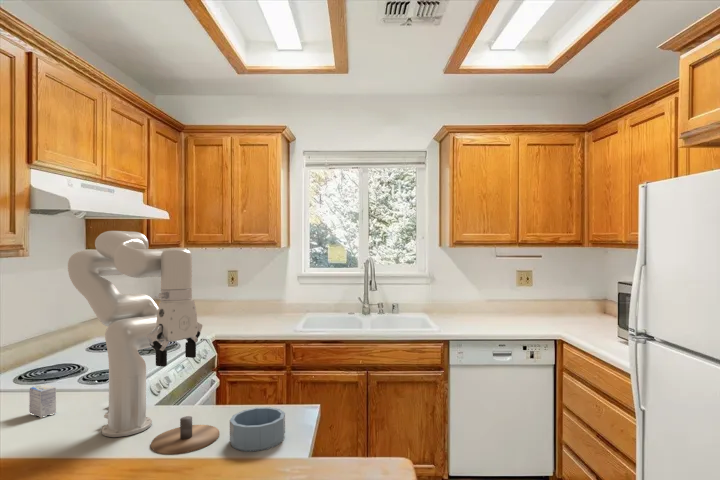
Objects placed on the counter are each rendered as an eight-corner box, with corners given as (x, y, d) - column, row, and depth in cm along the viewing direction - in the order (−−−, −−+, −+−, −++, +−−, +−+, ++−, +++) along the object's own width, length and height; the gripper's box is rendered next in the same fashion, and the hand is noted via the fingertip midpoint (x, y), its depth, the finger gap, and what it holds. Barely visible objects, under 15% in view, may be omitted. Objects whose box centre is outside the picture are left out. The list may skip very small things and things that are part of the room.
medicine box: (56, 414, 133) (56, 386, 134) (40, 419, 129) (40, 390, 130) (44, 410, 137) (45, 383, 138) (28, 414, 133) (29, 387, 134)
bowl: (219, 445, 108) (218, 421, 108) (255, 425, 120) (255, 404, 121) (261, 455, 101) (260, 430, 102) (295, 433, 114) (294, 411, 114)
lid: (136, 448, 108) (136, 424, 108) (189, 424, 123) (189, 404, 124) (181, 461, 100) (181, 435, 101) (232, 434, 116) (232, 412, 116)
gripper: (159, 299, 100) (159, 371, 99) (211, 293, 116) (211, 355, 115) (137, 298, 103) (137, 368, 102) (190, 293, 119) (190, 353, 118)
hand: (176, 361), depth 109 cm, fingers open, 9 cm apart
